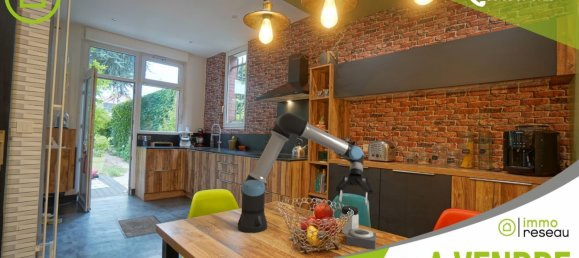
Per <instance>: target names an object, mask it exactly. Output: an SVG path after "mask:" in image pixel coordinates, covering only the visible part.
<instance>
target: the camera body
mask: <svg viewBox="0 0 579 258" xmlns="http://www.w3.org/2000/svg"><path fill="white" fill-rule="evenodd" d="M345 242H346V243H345V244H346V246H351V247H357V248H365V249H370V248H371V250H375V249H376V244H377V232H374V231H371V230H369V229H364V228H358V229H350V230H349V232H348V234H346V241H345Z"/></svg>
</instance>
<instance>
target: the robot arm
mask: <svg viewBox="0 0 579 258" xmlns="http://www.w3.org/2000/svg"><path fill="white" fill-rule="evenodd" d="M270 132H271V136H270V138H269V139H268V142H267V144H266V146H265V148H264V150H263V152H262V153H261V155H260V158H259V159H258V161H257V163H256V165H255V167H254V169H253V170H252V171H251V172H250V173H248V175H247V176H246V179H245V180H244V181H243V182H242V184H241V186H240V194H241V213H240V217H239V219H238V221H237V230H238V231H240V232H243V233H249V234H250V233H261V232H264V231H266V230H268V221H267V217H266V213H265V205H266V204H265V199H266V198H265V197H266V196H265V195H266V185H267V184H268V182H267V178H268V176H269V174H270V172H271V171H272V168H273V167H274V164H275V162H276V161H277V159H278V156H279V155H280V154H281V153H280V152H281V151H282V149H283V147H284V145H285V143H287V142H289V141H290V139H291V137H292V135H294V136H295V137H298V138H302V137H303V138H305V139H306V140H307V139H308V140H310V141H312V142H314V143H316V144H318V145H320V146H322V147H324V148H327V149H329V150H330V151H332V152H333V154H335V155H336V156H337V157H340V158H341V159H344V160H346V161H347V162H349V163H350V165H349V173H348V177H346V176H345V175H344V176H343V177H342V179H341V180H340V182H339V183H338V184H337V185H336V187H335V191H336V192H338V193H337V196H338V198H339V199H338V201H339V204H342V199H343V192H344V190H346V189H348V187H351V186H352V187H353V186H356V187H357V186H359V188H361V189H362V190H363V191H364V192H365V201H364V202H365V203H364V205H365V207H366V206H368V200H370V199H371V198H370V197H371V195H374V190H373V188H372V186H371V184H370V182H369V179H368V178H369V177H365V178H363V171H364V159H365V152H364V151H363V150H362V148H361V147H360V146H357V145H353V144H351V143H348V142H347V141H345V140H343V139H341V138H338V137H336V136H334V135H332V134H330V133H328V132H326V131H324V130H322V129H320V128H318V127H316V126H314V125H312V124H310V123H309V122H308V120H306V119H305V118H302V117H301V116H299V115H297V114H295V113H292V112H285V113H283V114H280V115H279V116H277V117H276V119H275V121H274V125H273V126H272V128H271V131H270ZM345 182H346V183H345ZM363 182H364V183H365V184H364V183H363ZM365 185H366V186H365Z"/></svg>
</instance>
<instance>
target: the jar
mask: <svg viewBox="0 0 579 258" xmlns="http://www.w3.org/2000/svg"><path fill="white" fill-rule="evenodd" d="M348 208H350V209H352V210H353V211H354V215H353V216H352V217H351V218H350V219H349V221H348V222H347V223H346V224H345V225H344V227H343V229H342V231H341V230H340V231H341V233H342V234H343V235H347V234H348V232H349V230H350V229H359V217H360V216H359V208H358V207H357V206H356V207H355V206H353V205H352V206H351V205H344V206H341V209H340V210H341V212H340V218H341V217H343V216H345V215H346V214H347V212H348V211H350V210H349V209H348Z"/></svg>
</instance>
